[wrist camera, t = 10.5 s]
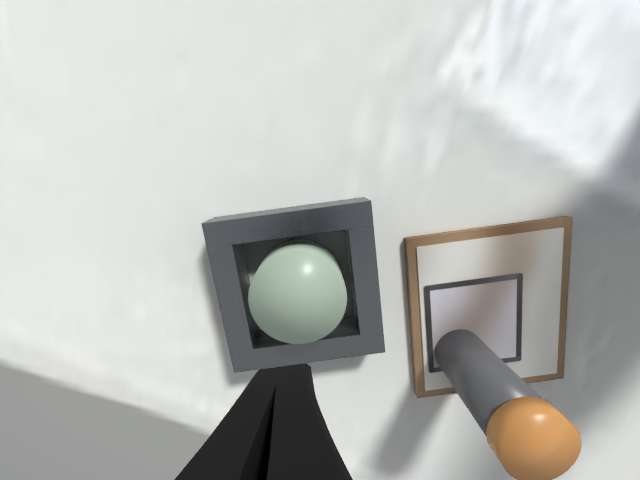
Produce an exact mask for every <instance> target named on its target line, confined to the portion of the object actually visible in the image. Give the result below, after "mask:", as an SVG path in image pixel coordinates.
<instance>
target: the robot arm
mask: <svg viewBox="0 0 640 480" xmlns="http://www.w3.org/2000/svg"><path fill="white" fill-rule="evenodd" d="M175 480H353V479H352V478H351V476H350V474H349V472H348V470H347V468H346V466H345V464H344V462H343V460H342V458H341V456H340V454H339V452H338V450H337V448H336V446H335V444H334V442H333V439H332V437H331V435H330V433H329V430H328V428H327V425H326V423H325V420H324V418H323V416H322V413H321V411H320V408H319V405H318V402H317V399H316V396H315V392H314V385H313V379H312V372H311V367H310V366H309V365H307V364H306V363H305V364H297V365H290V366H282V367H275V368H267V369H260V370H259V371H258V372H257V373H256V374H255V376H254V377H253V378H252V380H251V381H250V382H249V384H248V385H247V387H246V388H245V390H244V391H243V392H242V394H241V395H240V397H239V398H238V399H237V401H236V402H235V403H234V405H233V406H232V408H231V409H230V410H229V412H228V413H227V414H226V416H225V417H224V418H223V420H222V421H221V422H220V424H219V425H218V426H217V428H216V429H215V430H214V432H213V433H212V434H211V436H210V437H209V438H208V439H207V441H206V442H205V443H204V445H203V446H202V447H201V448H200V449H199V451H198V452H197V453H196V454H195V456H194V457H193V458H192V459H191V460H190V462H189V463H188V464H187V465H186V467H185V468H184V469H183V470H182V471H181V473H180V474H179V475H178V476H177V477H176V479H175Z"/></svg>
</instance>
